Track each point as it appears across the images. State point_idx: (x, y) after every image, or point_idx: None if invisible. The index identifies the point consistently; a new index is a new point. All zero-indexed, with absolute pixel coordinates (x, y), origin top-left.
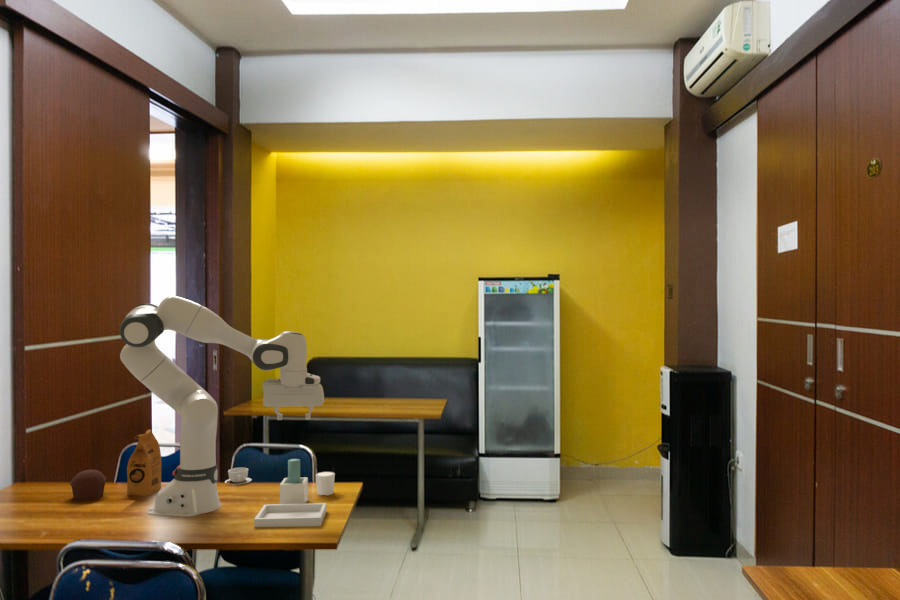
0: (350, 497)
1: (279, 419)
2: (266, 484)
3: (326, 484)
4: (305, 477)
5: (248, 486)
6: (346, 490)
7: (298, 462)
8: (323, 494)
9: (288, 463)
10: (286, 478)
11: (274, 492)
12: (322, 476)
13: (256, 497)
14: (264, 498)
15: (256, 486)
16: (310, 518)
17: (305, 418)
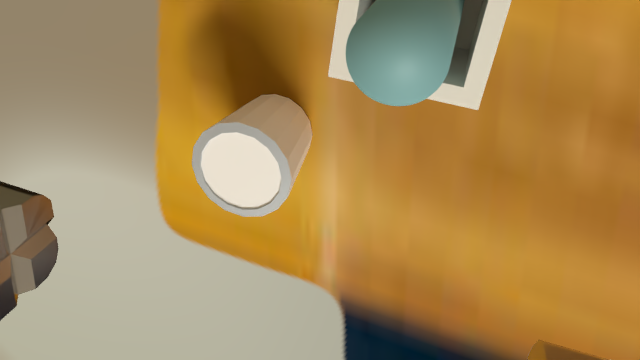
0: (159, 28)
1: (590, 354)
2: None
3: (248, 109)
4: (342, 77)
5: (634, 346)
6: (186, 139)
7: (362, 15)
8: (281, 98)
9: (450, 32)
10: (465, 90)
11: (517, 219)
12: (252, 130)
13: (625, 170)
14: (583, 140)
15: (594, 333)
16: None
17: (32, 194)
